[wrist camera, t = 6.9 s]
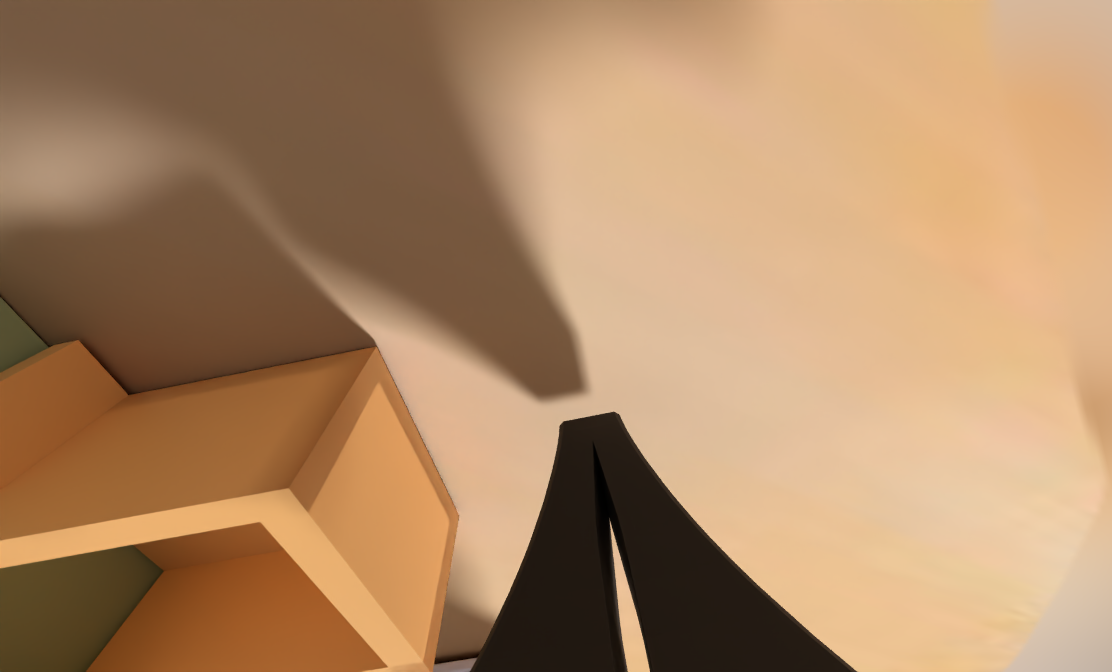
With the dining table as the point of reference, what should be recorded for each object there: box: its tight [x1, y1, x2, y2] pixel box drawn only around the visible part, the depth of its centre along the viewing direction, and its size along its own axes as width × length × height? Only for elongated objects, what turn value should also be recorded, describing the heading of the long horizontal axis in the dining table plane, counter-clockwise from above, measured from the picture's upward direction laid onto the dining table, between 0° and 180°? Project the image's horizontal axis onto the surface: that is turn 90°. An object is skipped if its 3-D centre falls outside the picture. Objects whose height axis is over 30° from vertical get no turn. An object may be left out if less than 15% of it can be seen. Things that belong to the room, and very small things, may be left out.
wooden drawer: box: [0, 340, 459, 672], centre depth 10 cm, size 10×9×4 cm
